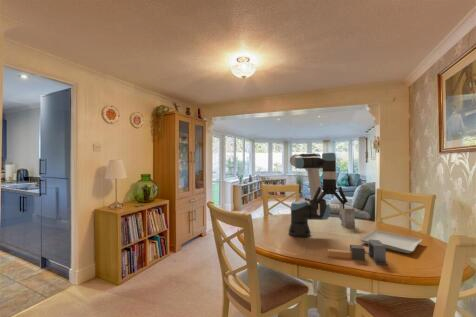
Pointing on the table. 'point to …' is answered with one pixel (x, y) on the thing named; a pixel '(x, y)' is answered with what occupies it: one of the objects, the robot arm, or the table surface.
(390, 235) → the square plate
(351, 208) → the circuit breaker
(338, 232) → the table surface
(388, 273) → the table surface
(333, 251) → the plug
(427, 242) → the table surface
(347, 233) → the table surface
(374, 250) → the housing
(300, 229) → the robot arm
